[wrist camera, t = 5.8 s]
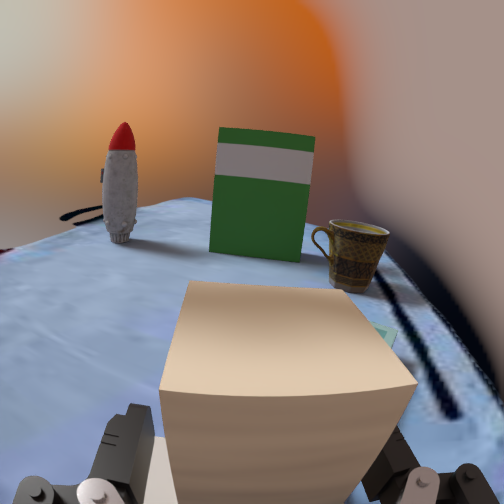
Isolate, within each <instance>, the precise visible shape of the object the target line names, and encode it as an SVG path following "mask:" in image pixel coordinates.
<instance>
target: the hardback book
mask: <svg viewBox="0 0 504 504" xmlns="http://www.w3.org/2000/svg"><path fill="white" fill-rule="evenodd" d="M314 144H315V137H313V136H306V135H299V134H291V133H282V132H273V131H263V130H251V129H239V128H224V127H220V128H219V136H218V145H217V156H216V167H215V178H214V190H213V202H212V215H211V229H210V244H209V252H215V253H223V254H232V255H240V256H248V257H257V258H265V259H273V260H282V261H290V262H300V256H301V249H302V242H303V235H304V228H305V220H306V213H307V205H308V197H309V189H310V181H311V172H312V163H313V153H314Z"/></svg>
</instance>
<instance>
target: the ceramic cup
mask: <svg viewBox="0 0 504 504" xmlns="http://www.w3.org/2000/svg"><path fill="white" fill-rule="evenodd" d="M317 231H324V232H325V233H326V234H327V235H328V238H329V256H328V255H327V254H326V253H325V251H324V250H323V249H322V248H321V247H320V246H319V245H318V244H317V243H316V242H315V240H314V235H315V233H316V232H317ZM389 235H390V233H389V232H388V231H387V230H385V229H383V228H380V227H377V226H374V225H370V224H365V223H361V222H355V221H348V220H331V221H330V222H329V230H328V229H327V228H325V227H317V228H315V229H314V230H313V232H312V235H311V238H312V241H313V243H314V244H315V245H316V246H317V247H318V248H319V249H320V250H321V251H322V253H323V254H324V256H325V257H326V258H327V259H328V261H329V283H330V284H331V285H332V286H333V287H334V288H336V289H342V290H343V291H346V292H349V293H364V292H365V291H366V290H367V288H368V287H369V285H370V283H371V280H372V278H373V275H374V273H375V270H376V268H377V265H378V263H379V260H380V258H381V256H382V254H383V252H384V249H385V247H386V244H387V241H388V238H389Z"/></svg>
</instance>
